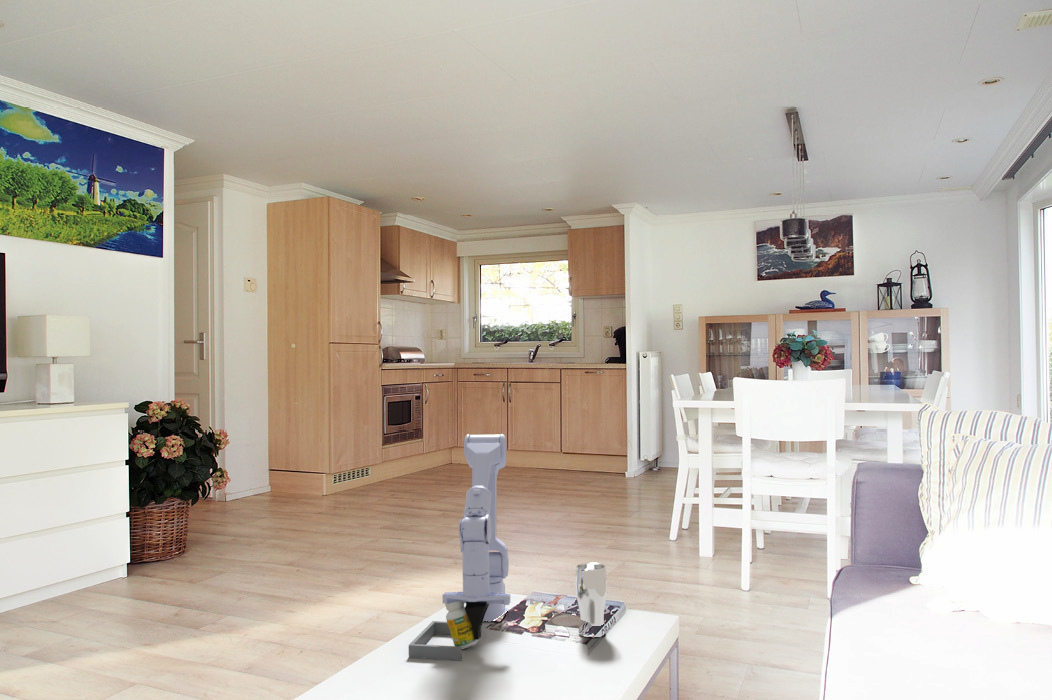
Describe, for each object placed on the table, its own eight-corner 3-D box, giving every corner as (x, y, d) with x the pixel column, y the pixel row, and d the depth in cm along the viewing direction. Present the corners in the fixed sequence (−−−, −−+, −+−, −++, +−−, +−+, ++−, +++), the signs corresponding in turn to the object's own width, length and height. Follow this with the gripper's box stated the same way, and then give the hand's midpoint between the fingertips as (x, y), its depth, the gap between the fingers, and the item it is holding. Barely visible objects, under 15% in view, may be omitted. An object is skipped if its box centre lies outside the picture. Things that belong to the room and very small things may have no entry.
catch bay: (432, 632, 169) (432, 620, 169) (480, 634, 167) (480, 623, 167) (408, 657, 154) (408, 645, 154) (460, 660, 152) (460, 648, 152)
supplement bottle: (473, 637, 163) (460, 594, 164) (483, 640, 158) (470, 596, 159) (451, 648, 160) (438, 604, 161) (461, 651, 155) (447, 606, 156)
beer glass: (607, 628, 169) (606, 562, 170) (608, 639, 163) (606, 570, 163) (577, 628, 170) (575, 562, 171) (576, 638, 163) (574, 570, 164)
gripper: (437, 576, 157) (438, 642, 156) (504, 577, 154) (506, 645, 153) (447, 569, 164) (448, 632, 163) (511, 570, 161) (513, 635, 160)
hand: (477, 638), depth 158 cm, fingers closed, pressing on supplement bottle
